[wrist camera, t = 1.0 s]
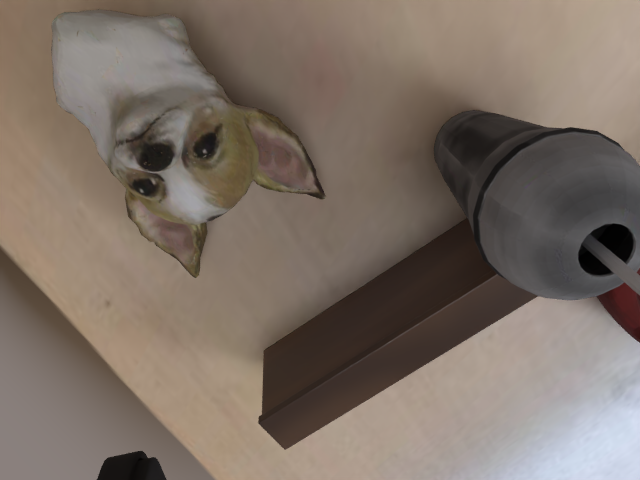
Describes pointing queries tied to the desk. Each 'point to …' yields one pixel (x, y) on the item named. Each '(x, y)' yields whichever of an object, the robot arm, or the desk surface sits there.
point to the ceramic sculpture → (169, 126)
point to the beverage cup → (545, 203)
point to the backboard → (382, 334)
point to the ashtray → (624, 308)
